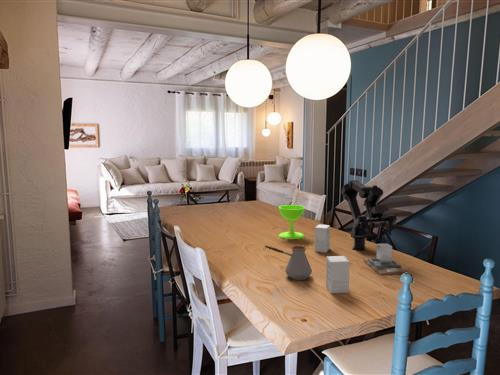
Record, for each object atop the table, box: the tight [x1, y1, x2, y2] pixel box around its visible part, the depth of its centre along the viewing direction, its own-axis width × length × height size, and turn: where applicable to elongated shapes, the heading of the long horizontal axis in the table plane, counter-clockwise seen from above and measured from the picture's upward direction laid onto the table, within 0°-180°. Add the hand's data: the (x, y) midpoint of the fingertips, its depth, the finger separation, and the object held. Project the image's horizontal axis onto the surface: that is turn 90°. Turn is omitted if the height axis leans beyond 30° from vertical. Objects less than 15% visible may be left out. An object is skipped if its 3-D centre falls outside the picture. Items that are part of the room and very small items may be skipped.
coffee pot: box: [263, 245, 313, 281], centre depth 164 cm, size 21×12×15 cm, turn 104°
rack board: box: [363, 257, 409, 276], centre depth 177 cm, size 18×13×2 cm
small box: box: [314, 223, 331, 253], centre depth 206 cm, size 8×6×13 cm
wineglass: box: [278, 204, 306, 240], centre depth 235 cm, size 16×16×18 cm
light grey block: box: [376, 242, 393, 265], centre depth 178 cm, size 5×5×9 cm
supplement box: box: [325, 255, 350, 294], centre depth 151 cm, size 7×7×13 cm
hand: (380, 235), depth 181 cm, fingers open, 9 cm apart
